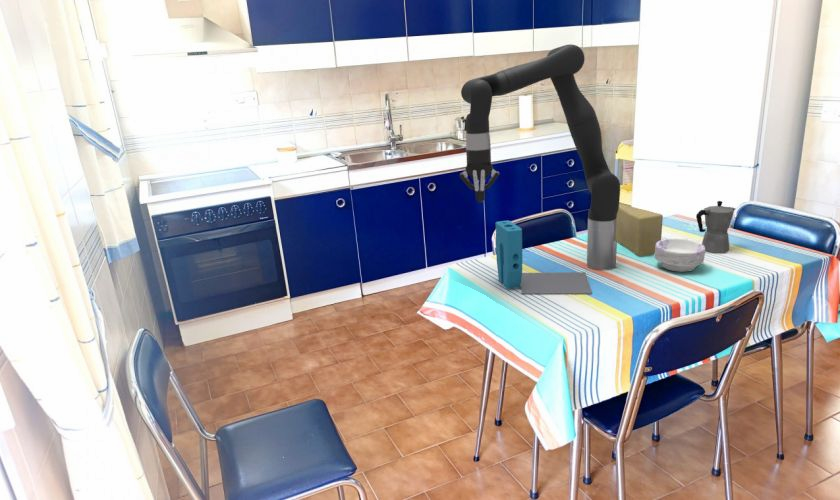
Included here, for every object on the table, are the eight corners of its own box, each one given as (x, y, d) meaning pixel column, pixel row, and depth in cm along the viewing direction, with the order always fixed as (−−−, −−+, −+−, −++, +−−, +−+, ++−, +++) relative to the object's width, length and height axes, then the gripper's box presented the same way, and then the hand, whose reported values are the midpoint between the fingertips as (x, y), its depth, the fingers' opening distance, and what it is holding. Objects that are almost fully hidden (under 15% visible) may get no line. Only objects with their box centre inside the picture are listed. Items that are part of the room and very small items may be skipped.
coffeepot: (721, 243, 208) (726, 196, 202) (740, 250, 199) (746, 201, 194) (684, 248, 205) (688, 201, 199) (702, 256, 196) (707, 207, 191)
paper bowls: (709, 275, 181) (711, 252, 178) (659, 275, 183) (661, 252, 181) (695, 259, 195) (697, 237, 192) (649, 259, 198) (651, 238, 195)
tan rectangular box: (602, 240, 221) (603, 203, 216) (623, 237, 223) (625, 200, 218) (638, 257, 200) (640, 217, 196) (661, 253, 203) (664, 213, 198)
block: (523, 289, 180) (522, 229, 174) (508, 291, 179) (507, 231, 173) (510, 276, 192) (509, 220, 185) (496, 278, 191) (494, 222, 184)
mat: (585, 273, 190) (585, 272, 190) (592, 294, 173) (592, 293, 173) (520, 273, 193) (520, 272, 193) (521, 294, 176) (521, 293, 176)
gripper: (500, 144, 175) (501, 198, 180) (458, 146, 177) (460, 199, 183) (499, 148, 168) (501, 204, 173) (455, 150, 170) (458, 205, 176)
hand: (480, 201), depth 178 cm, fingers closed
